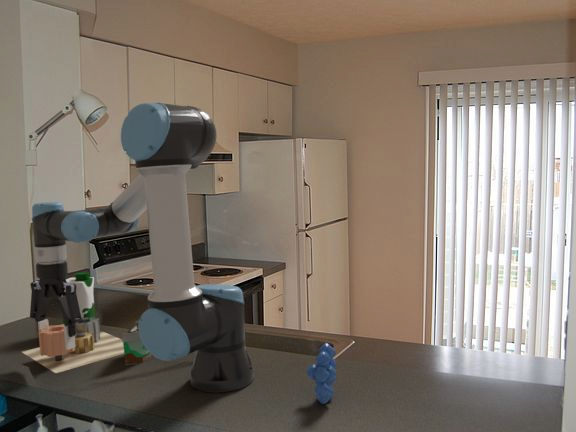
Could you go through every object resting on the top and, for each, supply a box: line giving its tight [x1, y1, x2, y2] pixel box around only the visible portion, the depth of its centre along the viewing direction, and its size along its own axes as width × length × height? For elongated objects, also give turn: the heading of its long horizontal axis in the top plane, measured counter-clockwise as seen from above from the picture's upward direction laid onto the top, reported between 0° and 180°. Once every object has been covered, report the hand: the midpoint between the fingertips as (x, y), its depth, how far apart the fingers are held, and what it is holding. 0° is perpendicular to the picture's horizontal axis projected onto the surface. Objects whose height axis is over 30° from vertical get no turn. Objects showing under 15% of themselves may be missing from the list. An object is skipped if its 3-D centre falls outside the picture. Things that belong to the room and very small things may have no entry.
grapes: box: [306, 342, 338, 405], centre depth 120 cm, size 12×7×12 cm, turn 164°
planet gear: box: [38, 323, 75, 357], centre depth 146 cm, size 8×8×6 cm
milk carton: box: [61, 271, 96, 324], centre depth 170 cm, size 9×9×20 cm
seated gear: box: [75, 317, 101, 343], centre depth 161 cm, size 8×8×6 cm
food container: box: [121, 320, 152, 366], centre depth 145 cm, size 12×6×10 cm, turn 179°
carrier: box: [21, 331, 124, 374], centre depth 154 cm, size 24×24×6 cm
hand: (57, 346), depth 146 cm, fingers closed on planet gear, 8 cm apart
